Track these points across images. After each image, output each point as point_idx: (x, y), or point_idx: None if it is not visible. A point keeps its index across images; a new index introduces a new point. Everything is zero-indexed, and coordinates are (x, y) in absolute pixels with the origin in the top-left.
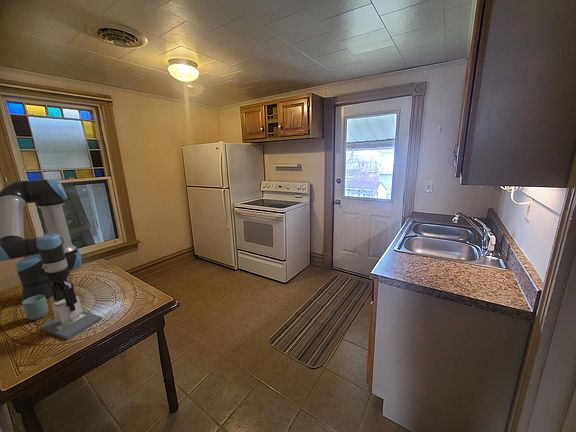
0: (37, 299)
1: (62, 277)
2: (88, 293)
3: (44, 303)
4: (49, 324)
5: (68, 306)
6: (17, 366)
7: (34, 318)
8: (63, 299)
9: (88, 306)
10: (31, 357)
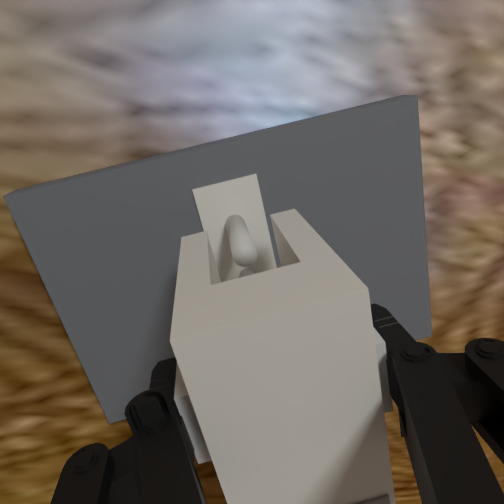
0: None
1: None
2: None
3: None
4: (139, 379)
5: (385, 390)
6: (402, 490)
7: None
8: (224, 447)
9: (14, 77)
10: (391, 453)
